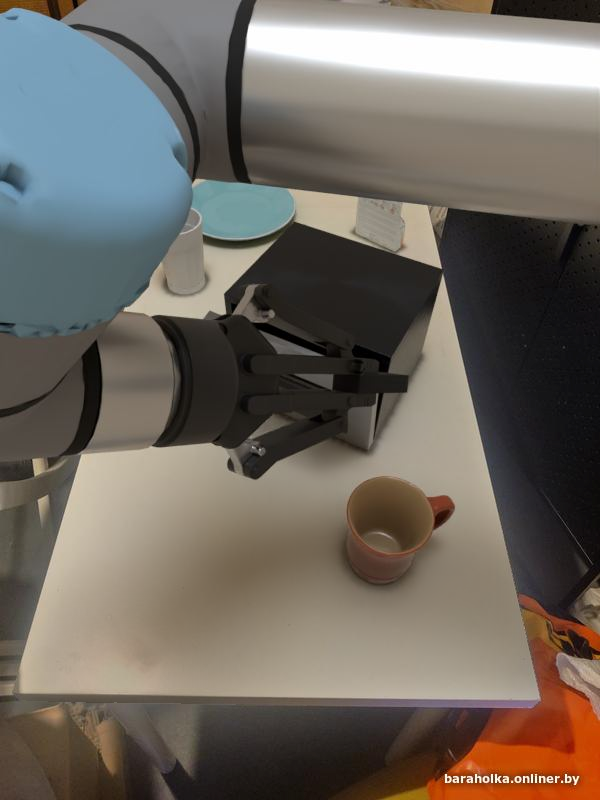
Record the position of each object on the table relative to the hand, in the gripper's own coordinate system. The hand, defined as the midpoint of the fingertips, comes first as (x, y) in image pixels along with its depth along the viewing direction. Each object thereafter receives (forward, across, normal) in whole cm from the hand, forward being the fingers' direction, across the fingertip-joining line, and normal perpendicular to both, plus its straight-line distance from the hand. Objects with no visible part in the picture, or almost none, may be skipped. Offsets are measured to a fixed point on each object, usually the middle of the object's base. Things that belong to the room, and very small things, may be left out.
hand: (394, 382), depth 47 cm
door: (+12, +8, -25) cm, 29 cm away
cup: (+13, -11, -54) cm, 56 cm away
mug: (+12, +20, -7) cm, 25 cm away
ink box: (+43, -22, -38) cm, 62 cm away
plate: (+28, -26, -60) cm, 71 cm away
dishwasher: (+21, +1, -27) cm, 34 cm away
